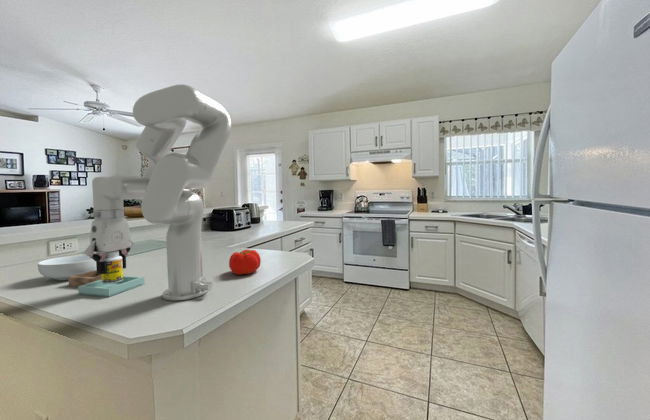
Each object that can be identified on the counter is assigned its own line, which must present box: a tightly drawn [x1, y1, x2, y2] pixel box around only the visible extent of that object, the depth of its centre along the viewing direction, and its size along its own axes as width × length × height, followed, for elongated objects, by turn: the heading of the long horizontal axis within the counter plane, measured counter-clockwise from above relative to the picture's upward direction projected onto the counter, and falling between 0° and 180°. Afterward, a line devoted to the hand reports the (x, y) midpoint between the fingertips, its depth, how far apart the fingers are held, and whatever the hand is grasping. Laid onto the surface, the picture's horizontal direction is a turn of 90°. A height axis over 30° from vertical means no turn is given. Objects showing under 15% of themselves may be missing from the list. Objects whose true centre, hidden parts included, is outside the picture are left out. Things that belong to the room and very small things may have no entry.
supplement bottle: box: [101, 250, 124, 284], centre depth 87 cm, size 6×6×10 cm
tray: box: [77, 275, 145, 298], centre depth 87 cm, size 12×12×2 cm
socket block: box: [68, 269, 101, 287], centre depth 95 cm, size 10×10×3 cm
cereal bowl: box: [37, 254, 97, 281], centre depth 101 cm, size 17×17×7 cm
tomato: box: [228, 249, 262, 276], centre depth 104 cm, size 13×12×8 cm
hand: (112, 270), depth 87 cm, fingers closed on supplement bottle, 5 cm apart
